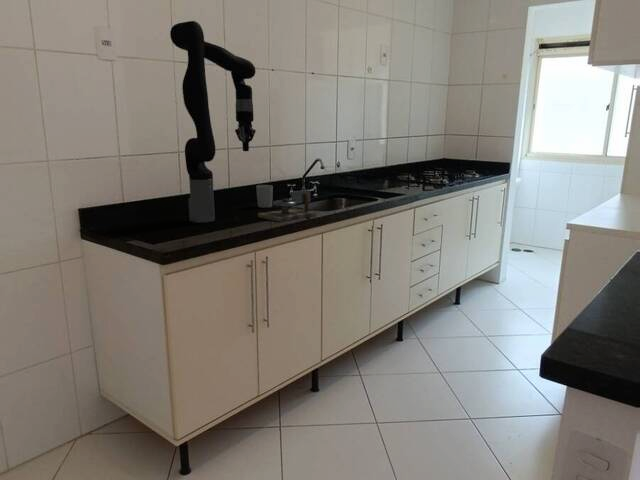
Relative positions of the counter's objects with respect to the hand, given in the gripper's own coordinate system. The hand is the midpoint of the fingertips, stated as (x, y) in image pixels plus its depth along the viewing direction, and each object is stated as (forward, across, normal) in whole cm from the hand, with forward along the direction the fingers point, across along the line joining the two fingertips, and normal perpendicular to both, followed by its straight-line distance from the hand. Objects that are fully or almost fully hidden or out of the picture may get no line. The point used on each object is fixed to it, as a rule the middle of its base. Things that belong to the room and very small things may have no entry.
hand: (245, 151), depth 218 cm
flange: (+22, +22, +8) cm, 32 cm away
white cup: (+27, -6, +14) cm, 31 cm away
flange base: (+27, +21, +6) cm, 35 cm away
